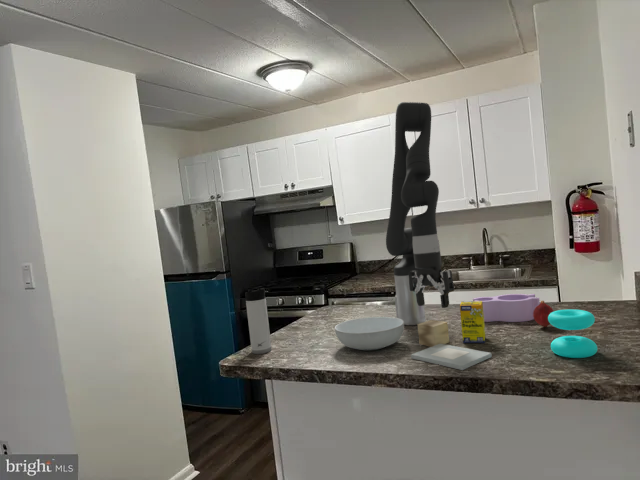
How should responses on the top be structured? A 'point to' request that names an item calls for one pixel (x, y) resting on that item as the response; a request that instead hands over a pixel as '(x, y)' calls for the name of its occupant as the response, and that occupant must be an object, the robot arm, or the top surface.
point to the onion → (542, 314)
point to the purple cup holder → (509, 307)
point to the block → (433, 333)
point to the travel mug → (258, 321)
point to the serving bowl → (369, 332)
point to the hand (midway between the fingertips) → (433, 306)
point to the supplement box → (472, 322)
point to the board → (451, 356)
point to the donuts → (572, 344)
